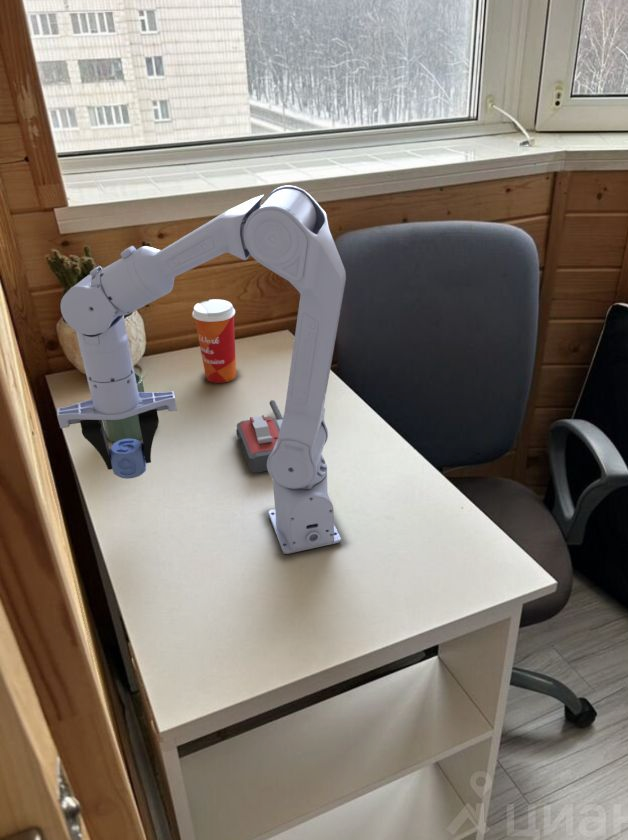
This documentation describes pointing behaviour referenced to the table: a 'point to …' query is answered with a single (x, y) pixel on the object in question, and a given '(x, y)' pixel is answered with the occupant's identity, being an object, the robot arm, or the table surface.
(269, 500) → the table surface
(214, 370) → the paper cup
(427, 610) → the table surface
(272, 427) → the walkie-talkie
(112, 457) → the decorative dice
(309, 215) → the robot arm
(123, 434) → the pencil cup
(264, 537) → the table surface
